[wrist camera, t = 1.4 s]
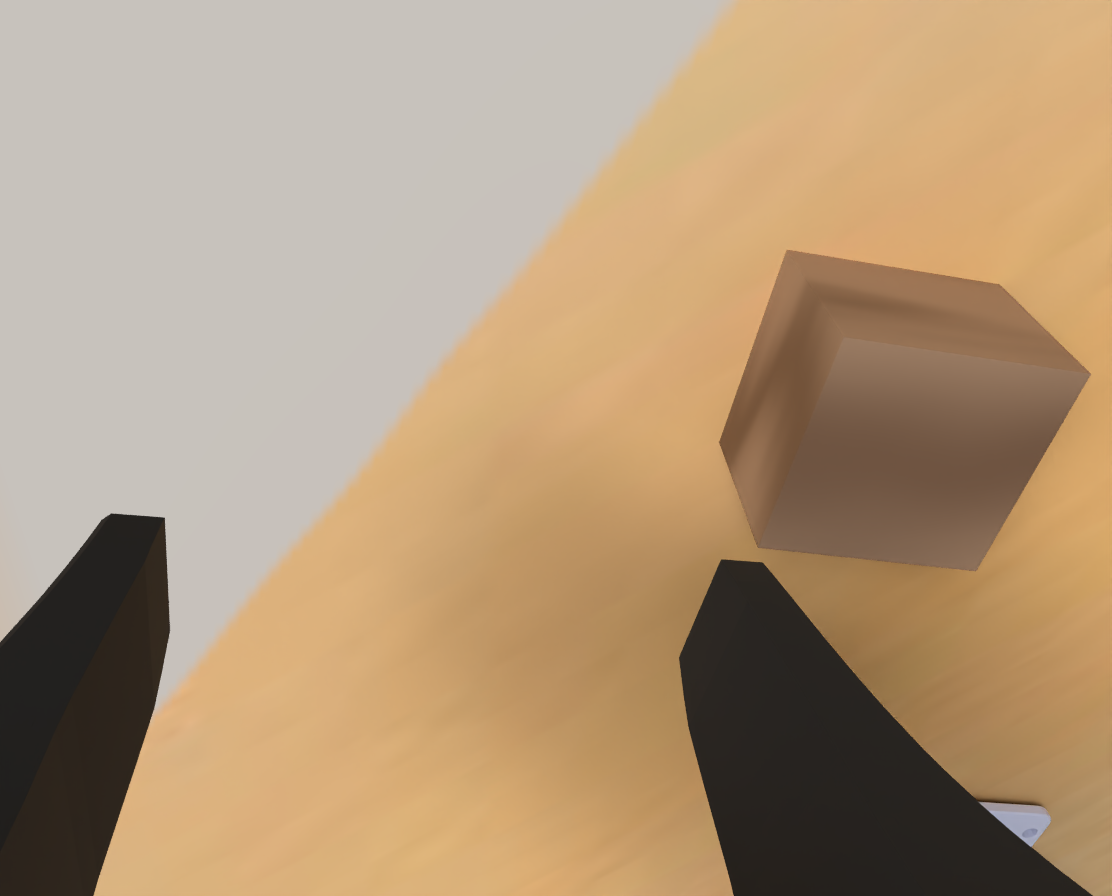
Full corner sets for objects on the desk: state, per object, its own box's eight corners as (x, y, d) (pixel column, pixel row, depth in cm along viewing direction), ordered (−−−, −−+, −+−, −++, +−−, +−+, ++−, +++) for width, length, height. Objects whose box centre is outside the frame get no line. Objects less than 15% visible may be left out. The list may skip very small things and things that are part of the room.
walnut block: (908, 463, 24) (976, 570, 21) (717, 438, 23) (757, 547, 20) (996, 281, 21) (1090, 374, 18) (784, 247, 21) (843, 337, 17)
